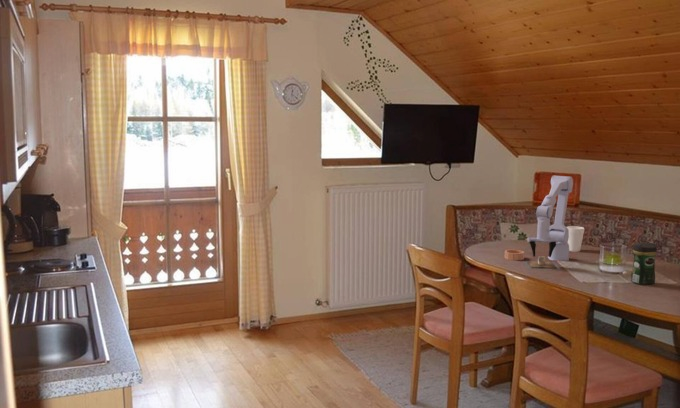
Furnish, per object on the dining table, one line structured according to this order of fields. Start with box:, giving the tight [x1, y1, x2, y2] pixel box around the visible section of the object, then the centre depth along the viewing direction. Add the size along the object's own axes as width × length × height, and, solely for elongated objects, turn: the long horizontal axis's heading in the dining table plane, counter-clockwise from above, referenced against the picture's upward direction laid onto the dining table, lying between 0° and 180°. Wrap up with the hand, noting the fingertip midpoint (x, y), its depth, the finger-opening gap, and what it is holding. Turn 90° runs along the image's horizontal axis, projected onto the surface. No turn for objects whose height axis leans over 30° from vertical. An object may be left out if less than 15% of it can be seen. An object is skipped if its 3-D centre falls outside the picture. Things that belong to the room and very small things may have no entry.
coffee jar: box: [630, 242, 658, 286], centre depth 286 cm, size 10×8×19 cm
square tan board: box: [526, 255, 557, 269], centre depth 316 cm, size 12×12×4 cm
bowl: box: [504, 249, 525, 261], centre depth 332 cm, size 10×10×4 cm
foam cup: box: [566, 225, 585, 253], centre depth 354 cm, size 10×9×13 cm
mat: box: [521, 260, 562, 271], centre depth 316 cm, size 16×16×1 cm
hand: (541, 256), depth 316 cm, fingers open, 7 cm apart
